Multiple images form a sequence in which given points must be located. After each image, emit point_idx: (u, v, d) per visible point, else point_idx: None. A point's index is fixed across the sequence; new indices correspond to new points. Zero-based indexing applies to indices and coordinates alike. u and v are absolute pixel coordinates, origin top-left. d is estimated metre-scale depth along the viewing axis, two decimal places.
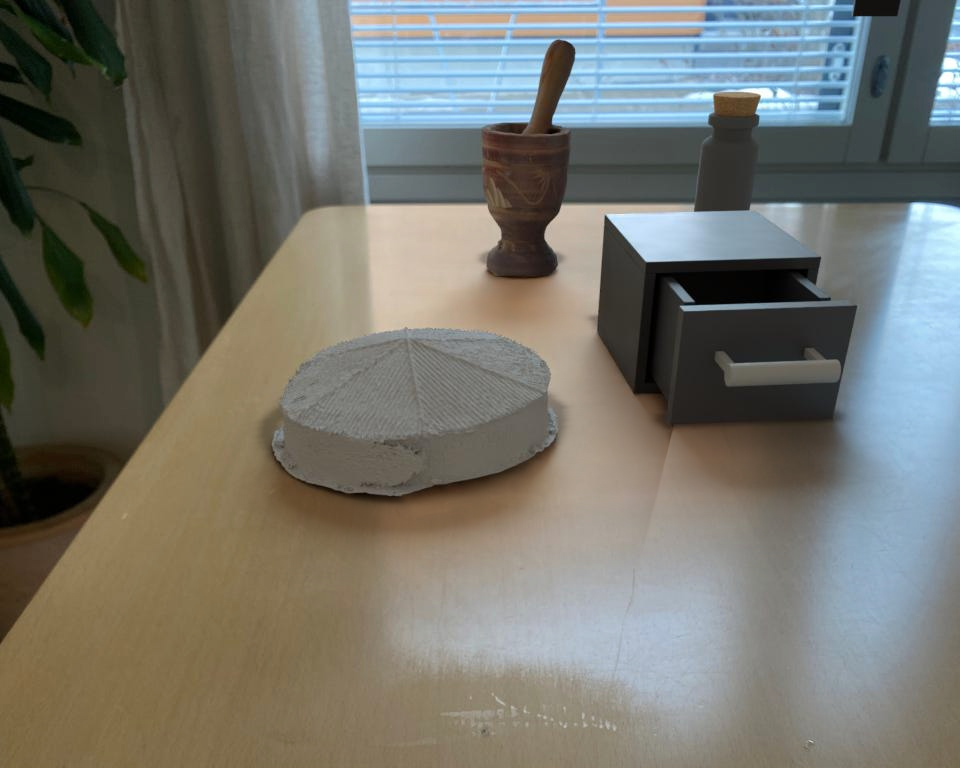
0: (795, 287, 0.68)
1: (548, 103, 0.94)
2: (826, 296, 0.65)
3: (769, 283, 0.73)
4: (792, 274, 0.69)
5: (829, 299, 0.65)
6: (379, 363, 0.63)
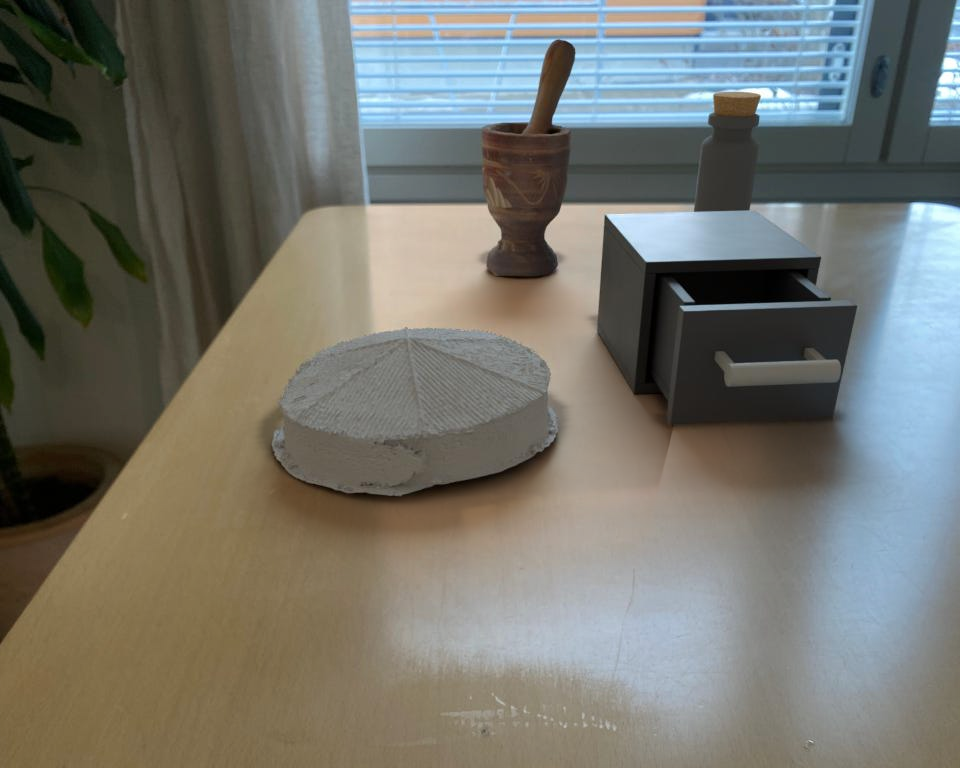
0: (795, 287, 0.68)
1: (548, 103, 0.94)
2: (826, 296, 0.65)
3: (769, 283, 0.73)
4: (792, 274, 0.69)
5: (829, 299, 0.65)
6: (379, 363, 0.63)
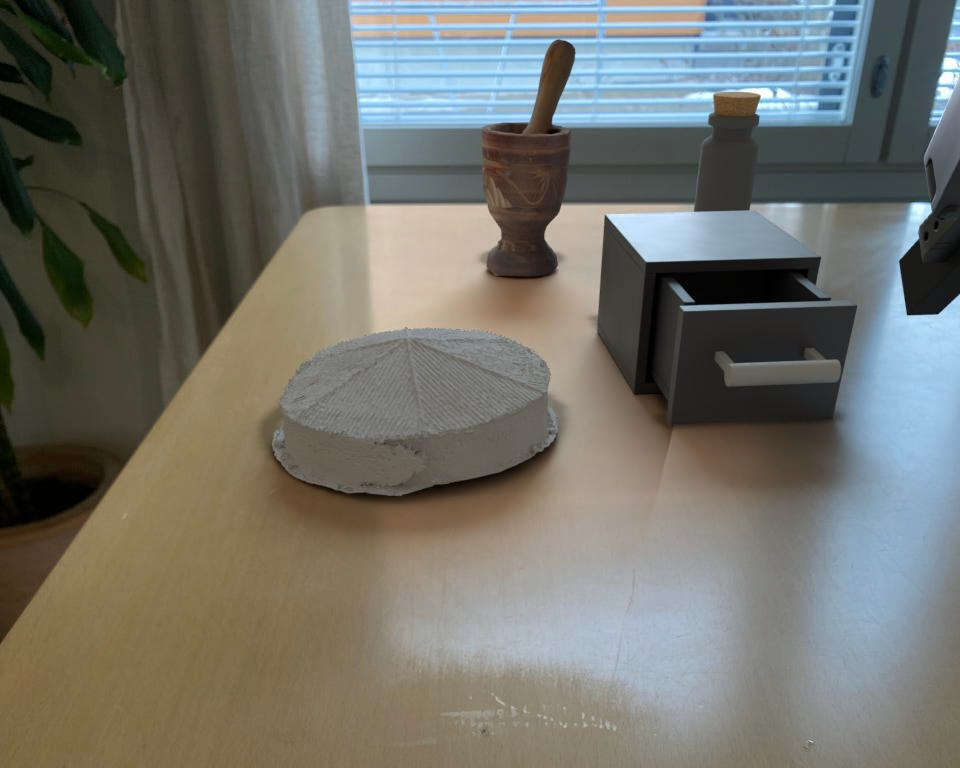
0: (795, 287, 0.68)
1: (548, 103, 0.94)
2: (826, 296, 0.65)
3: (769, 283, 0.73)
4: (792, 274, 0.69)
5: (829, 299, 0.65)
6: (379, 363, 0.63)
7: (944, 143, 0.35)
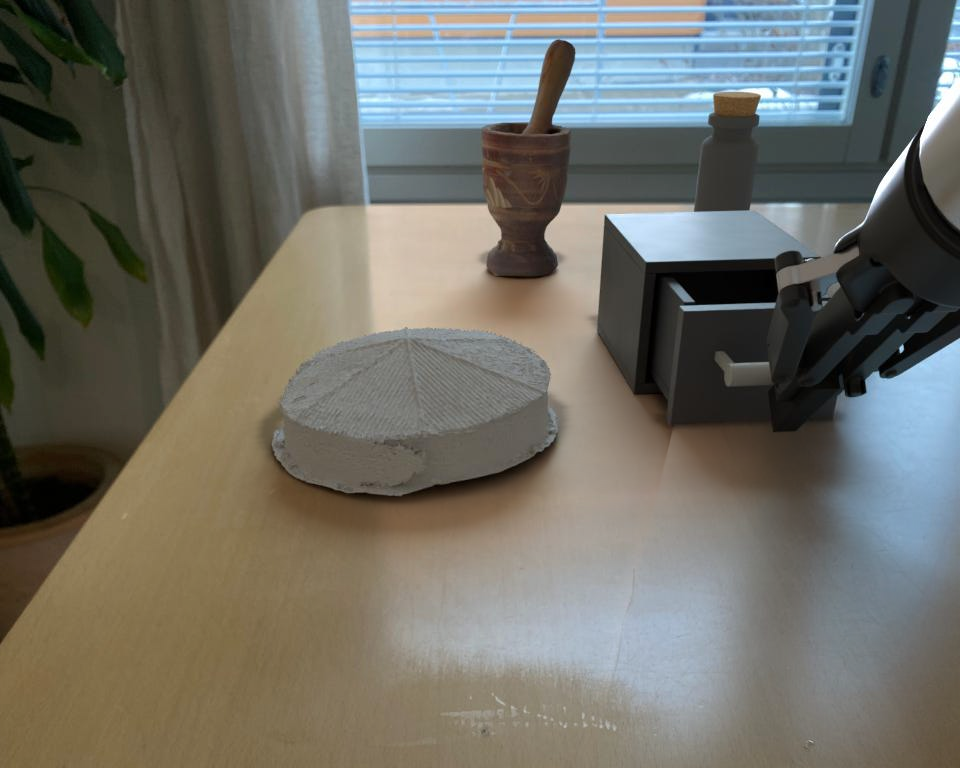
0: None
1: (548, 103, 0.94)
2: (826, 296, 0.65)
3: (769, 283, 0.73)
4: None
5: (829, 299, 0.65)
6: (379, 363, 0.63)
7: (773, 339, 0.52)
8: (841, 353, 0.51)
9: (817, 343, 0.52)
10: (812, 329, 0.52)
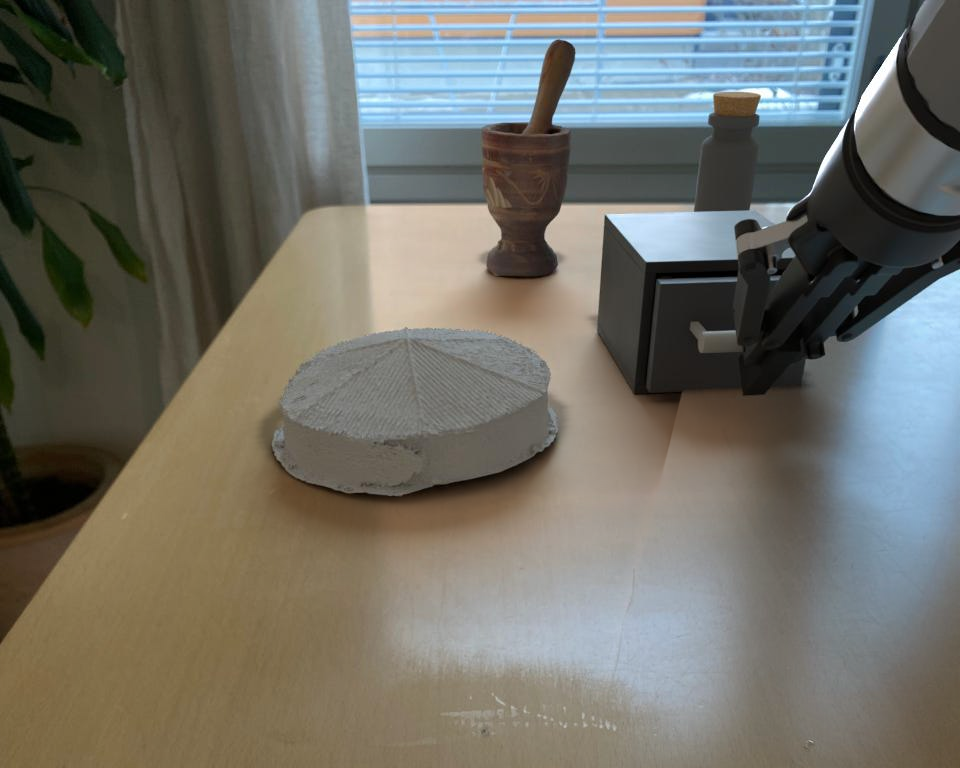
0: None
1: (548, 103, 0.94)
2: None
3: None
4: None
5: None
6: (379, 363, 0.63)
7: (737, 303, 0.57)
8: (799, 316, 0.56)
9: (777, 307, 0.56)
10: (773, 295, 0.57)
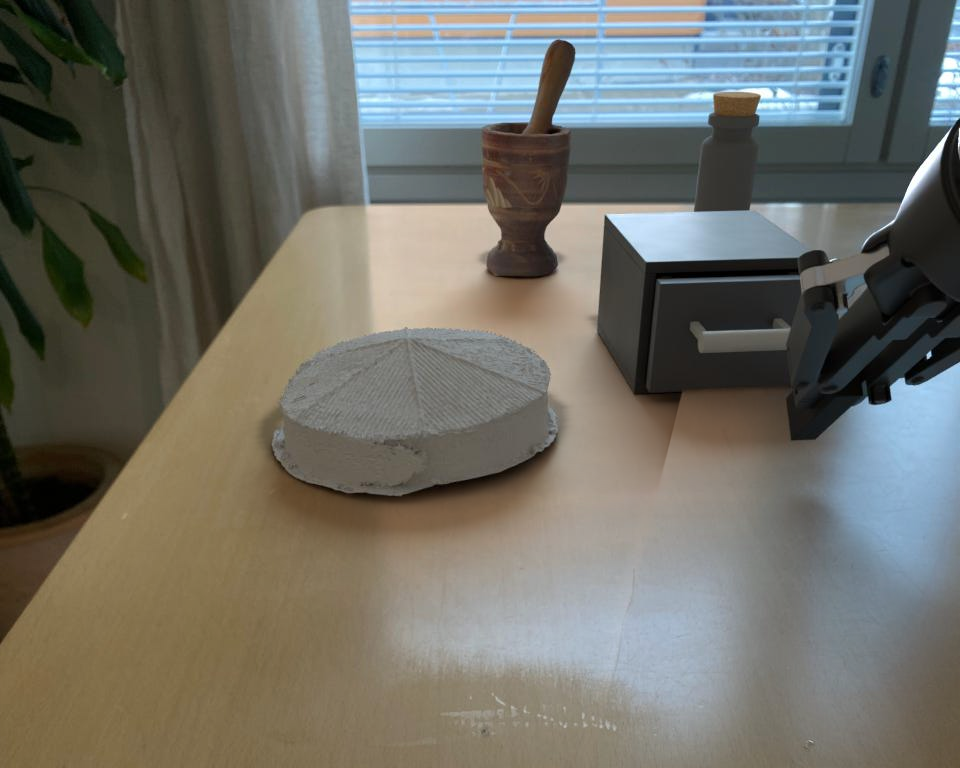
0: None
1: (548, 103, 0.94)
2: (793, 270, 0.70)
3: None
4: None
5: (796, 273, 0.70)
6: (379, 363, 0.63)
7: (793, 343, 0.49)
8: (866, 359, 0.48)
9: (840, 348, 0.49)
10: (835, 333, 0.49)
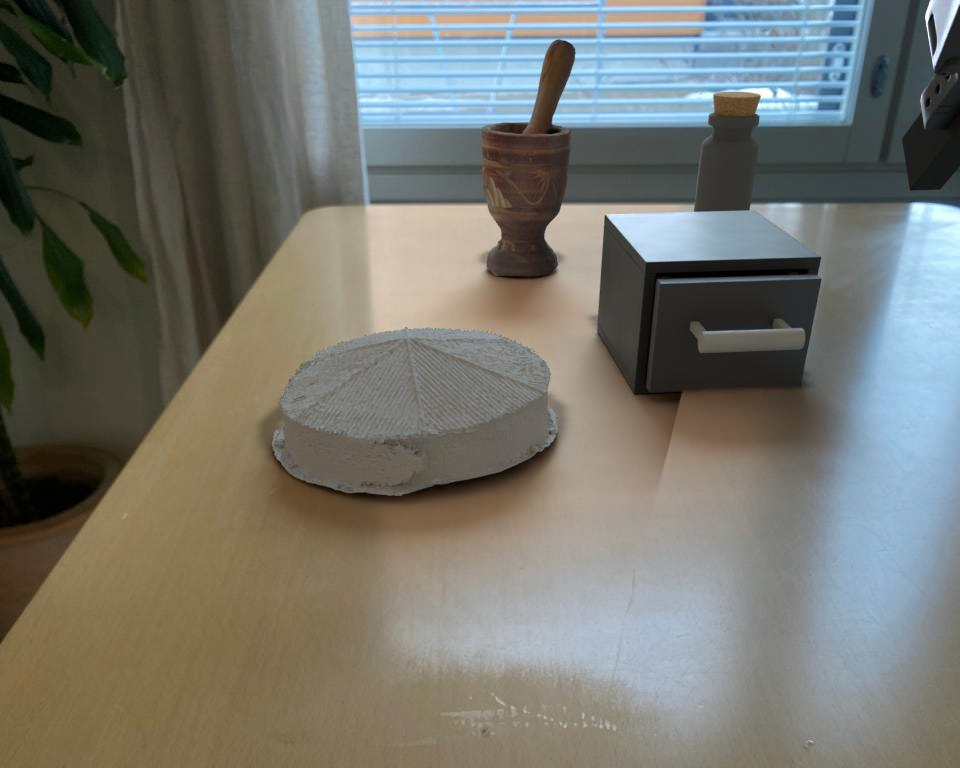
0: None
1: (548, 103, 0.94)
2: (793, 270, 0.70)
3: None
4: None
5: (796, 273, 0.70)
6: (379, 363, 0.63)
7: None
8: None
9: None
10: None
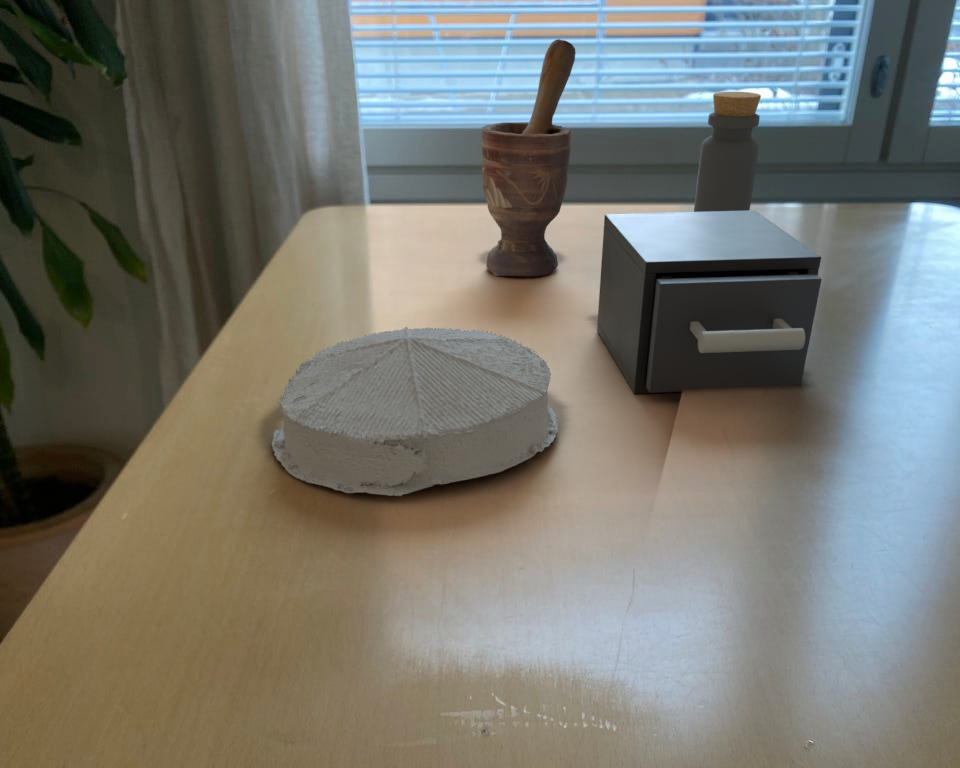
0: None
1: (548, 103, 0.94)
2: (793, 270, 0.70)
3: None
4: None
5: (796, 273, 0.70)
6: (379, 363, 0.63)
7: None
8: None
9: None
10: None
